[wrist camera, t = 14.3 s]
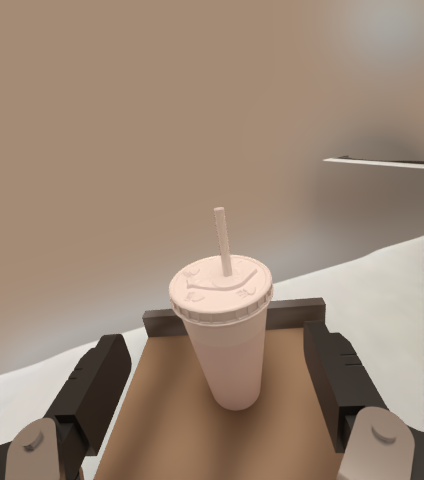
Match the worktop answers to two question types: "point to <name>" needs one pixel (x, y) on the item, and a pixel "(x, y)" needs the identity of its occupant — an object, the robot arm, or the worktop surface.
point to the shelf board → (221, 411)
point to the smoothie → (226, 319)
